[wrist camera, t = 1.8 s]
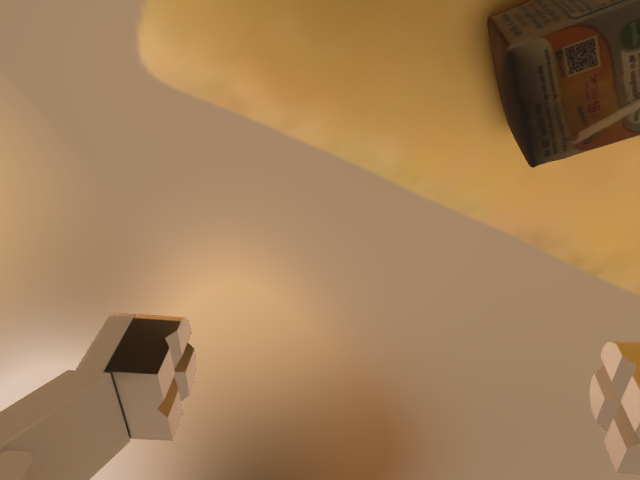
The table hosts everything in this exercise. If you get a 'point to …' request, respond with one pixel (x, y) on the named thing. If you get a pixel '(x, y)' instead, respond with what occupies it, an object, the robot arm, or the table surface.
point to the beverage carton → (568, 74)
